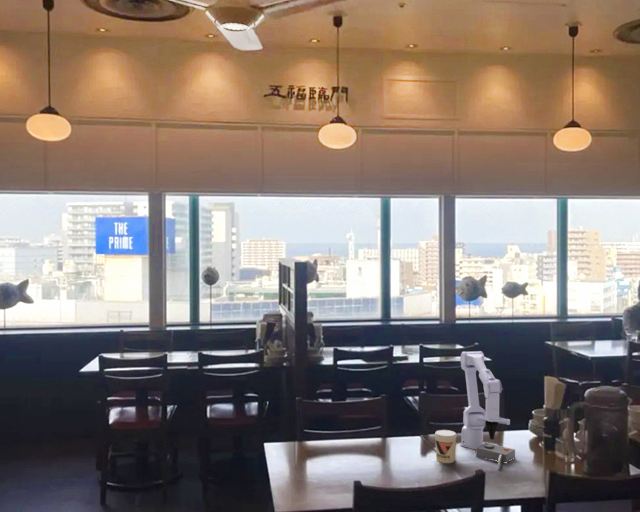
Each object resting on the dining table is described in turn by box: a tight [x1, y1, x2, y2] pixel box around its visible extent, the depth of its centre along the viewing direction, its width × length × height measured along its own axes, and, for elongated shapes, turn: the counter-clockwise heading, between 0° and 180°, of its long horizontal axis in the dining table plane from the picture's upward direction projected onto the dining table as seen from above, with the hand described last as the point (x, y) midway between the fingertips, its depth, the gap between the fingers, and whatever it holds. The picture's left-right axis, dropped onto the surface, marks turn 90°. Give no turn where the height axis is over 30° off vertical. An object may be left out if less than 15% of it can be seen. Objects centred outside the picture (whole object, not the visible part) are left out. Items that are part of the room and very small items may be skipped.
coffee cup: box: [434, 429, 457, 464], centre depth 277 cm, size 9×9×12 cm
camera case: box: [475, 442, 516, 463], centre depth 280 cm, size 14×9×5 cm, turn 48°
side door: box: [497, 454, 502, 470], centre depth 268 cm, size 10×1×4 cm, turn 159°
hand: (492, 438), depth 275 cm, fingers closed
